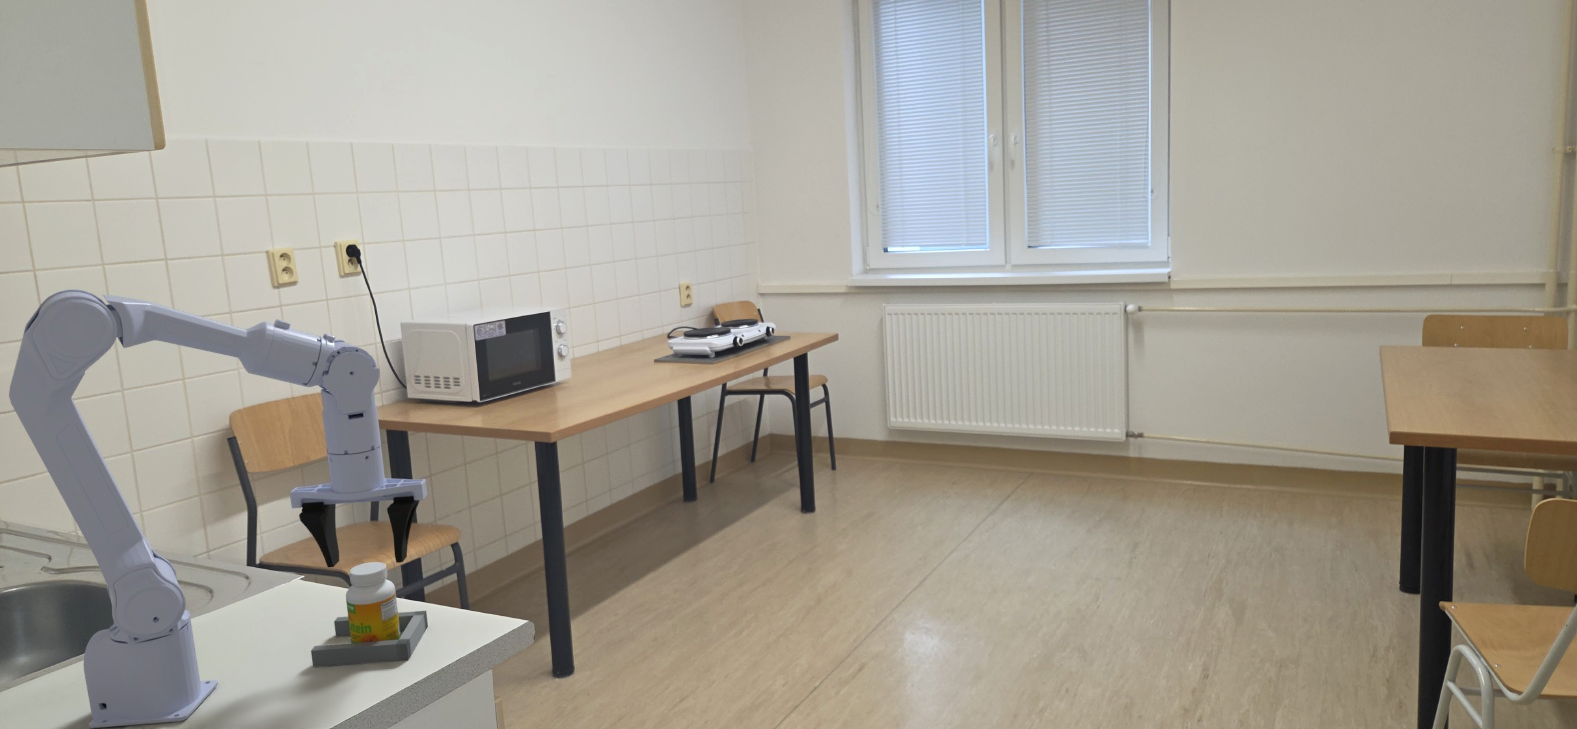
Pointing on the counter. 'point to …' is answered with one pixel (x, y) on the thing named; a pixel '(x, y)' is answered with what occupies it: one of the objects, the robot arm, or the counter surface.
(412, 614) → the gray u-shaped bracket
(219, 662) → the counter surface
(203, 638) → the counter surface
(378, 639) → the supplement bottle
